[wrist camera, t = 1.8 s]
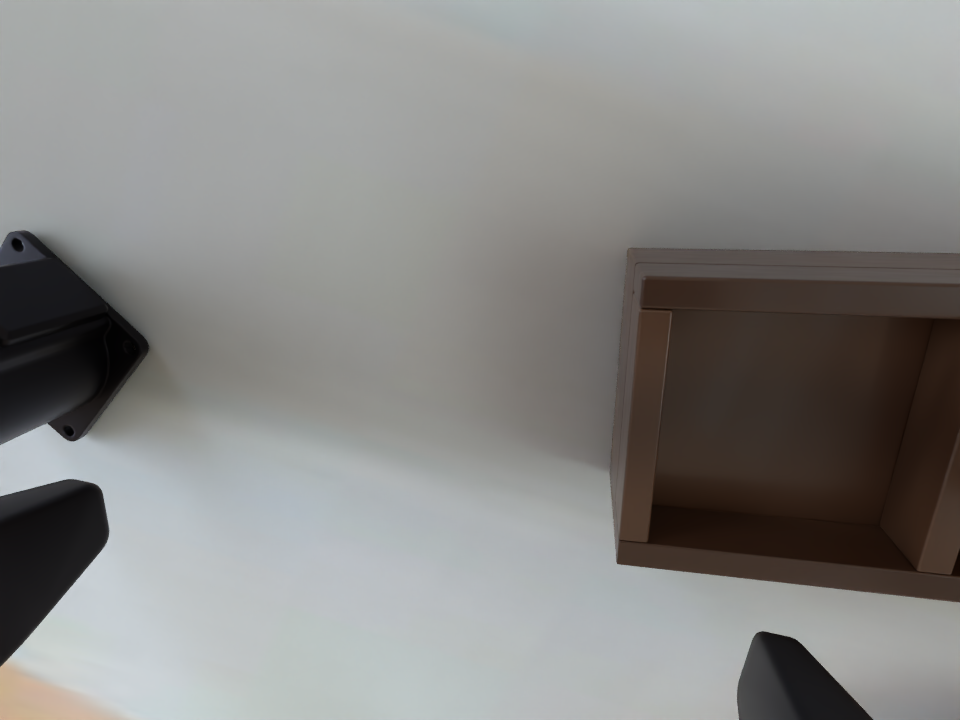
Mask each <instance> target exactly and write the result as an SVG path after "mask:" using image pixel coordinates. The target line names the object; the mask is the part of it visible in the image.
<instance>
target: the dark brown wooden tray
mask: <svg viewBox="0 0 960 720" xmlns="http://www.w3.org/2000/svg"><path fill="white" fill-rule="evenodd" d="M610 483H611V496H612V509H613V519H614V522H613V523H614V536H615V549H616V562H617V564H621V565H630V566H639V567H648V568H657V569H665V570H674V571H683V572H692V573H701V574H710V575H719V576H728V577H737V578H746V579H755V580H764V581H773V582H782V583H791V584H799V585H808V586H817V587H826V588H835V589H844V590H853V591H862V592H871V593H880V594H889V595H898V596H907V597H916V598H924V599H933V600H942V601H951V602H960V254H958V253H899V252H839V251H780V250H720V249H661V248H629V249H628V251H627V262H626V275H625V287H624V300H623V313H622V325H621V338H620V350H619V363H618V376H617V388H616V401H615V413H614V426H613V439H612V451H611V464H610Z"/></svg>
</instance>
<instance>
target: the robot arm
mask: <svg viewBox="0 0 960 720" xmlns="http://www.w3.org/2000/svg"><path fill="white" fill-rule="evenodd" d="M22 243H23V245H22ZM132 343H133V345H134V346H135V349H136V350H135V349H134V348H133V347H132ZM148 351H149V345H148V343H147V341H146V339H145V338H144V337H143V336H142V335H141V334H140V333H139V332H138V331H137V330H136V329H135V328H133V327H132V326H131V325H130V324H129V323H128V322H127V321H126V320H125V319H124V318H123V317H122V316H121V315H119V314H118V313H117V312H116V311H115V310H114V309H113V308H112V307H111V306H110V305H109V304H108V303H106V302H105V301H104V300H103V299H102V298H101V297H100V296H99V295H98V294H97V293H96V292H95V291H93V290H92V289H91V288H90V287H89V286H88V285H87V284H86V283H85V282H84V281H83V280H82V279H81V278H79V277H78V276H77V275H76V274H75V273H74V272H73V271H72V270H71V269H70V268H69V267H68V266H66V265H65V264H64V263H63V262H62V261H61V260H60V259H59V258H58V257H57V256H56V255H55V254H54V253H52V252H51V251H50V250H49V249H48V248H47V247H46V246H45V245H44V244H43V243H42V242H41V241H39V240H38V239H37V238H36V237H35V236H34V235H33V234H31V233H30V232H28V231H15V232H11V233H9V234H8V235H7V237H6V239H5V241H4V242H3V244H2V246H1V248H0V445H1V444H3V443H5V442H7V441H10V440H12V439H14V438H16V437H18V436H20V435H22V434H24V433H26V432H29V431H31V430H33V429H35V428H37V427H39V426H41V425H43V424H46V423H48V424H49V425H50V426H51V427H52V428H53V429H55V430H56V431H57V432H58V433H59V434H60V435H61V436H63V437H64V438H65V439H67V440H69V441H76V440H78V439H80V438H82V437H84V436H85V435H86V434H87V433H88V431H89V430H90V429H91V428H92V426H93V425H94V424H95V422H96V421H97V420H98V418H99V417H100V416H101V414H102V413H103V412H104V410H105V409H106V408H107V406H108V405H109V404H110V402H111V401H112V400H113V398H114V397H115V396H116V394H117V393H118V392H119V390H120V389H121V388H122V386H123V385H124V384H125V382H126V381H127V380H128V378H129V377H130V376H131V375H132V373H133V372H134V371H135V369H136V368H137V367H138V365H139V364H140V363H141V361H142V360H143V359H144V357H145V356H146V355H147V353H148ZM108 537H109V525H108V520H107V514H106V509H105V503H104V498H103V493H102V490H101V489H100V488H99V486H97V485H95V484H93V483H89V482H84V481H80V480H74V479H67V480H62V481H59V482H55V483H51V484H47V485H43V486H39V487H35V488H32V489H28V490H24V491H20V492H16V493H12V494H8V495H4V496H1V497H0V667H1V666H2V665H3V664H4V662H5V661H6V660H7V659H8V658H9V657H10V656H11V655H12V654H13V653H14V652H15V651H16V650H17V649H18V648H19V647H20V646H21V645H22V644H23V642H24V641H25V640H26V639H27V638H28V637H29V636H30V634H31V633H32V632H33V631H34V630H35V629H36V628H37V626H38V625H39V624H40V623H41V622H42V620H43V619H44V618H45V617H46V616H47V615H48V613H49V612H50V611H51V610H52V609H53V607H54V606H55V605H56V604H57V603H58V601H59V600H60V599H61V598H62V597H63V596H64V594H65V593H66V592H67V591H68V590H69V588H70V587H71V586H72V585H73V584H74V583H75V581H76V580H77V579H78V578H79V577H80V575H81V574H82V573H83V572H84V571H85V569H86V568H87V567H88V566H89V565H90V564H91V562H92V561H93V560H94V559H95V558H96V556H97V555H98V554H99V553H100V552H101V550H102V549H103V548H104V546H105V544H106V543H107V540H108ZM737 704H738V713H739V720H873V719H872V718H871V717H870V716H869V715H868V713H867V712H866V711H865V710H864V709H863V708H862V707H861V706H860V705H859V704H858V703H857V702H856V701H855V700H854V699H853V698H852V697H851V696H850V695H849V694H848V692H847V691H846V690H845V689H844V688H843V687H842V686H841V685H840V684H839V683H838V682H837V681H836V680H835V679H834V678H833V677H832V676H831V675H830V674H829V673H828V671H827V670H826V669H825V668H824V667H823V666H822V665H821V664H820V663H819V662H818V661H817V660H816V659H815V658H814V657H813V656H812V655H811V654H810V653H809V652H808V650H807V649H806V648H805V647H804V646H803V645H802V644H801V643H800V642H798V641H797V640H795V639H793V638H791V637H787V636H782V635H778V634H773V633H769V632H763V631H762V632H758V633H757V634H756V635H755V636H754V638H753V640H752V642H751V645H750V648H749V651H748V654H747V658H746V661H745V664H744V667H743V670H742V673H741V676H740V679H739V682H738V690H737Z"/></svg>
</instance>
